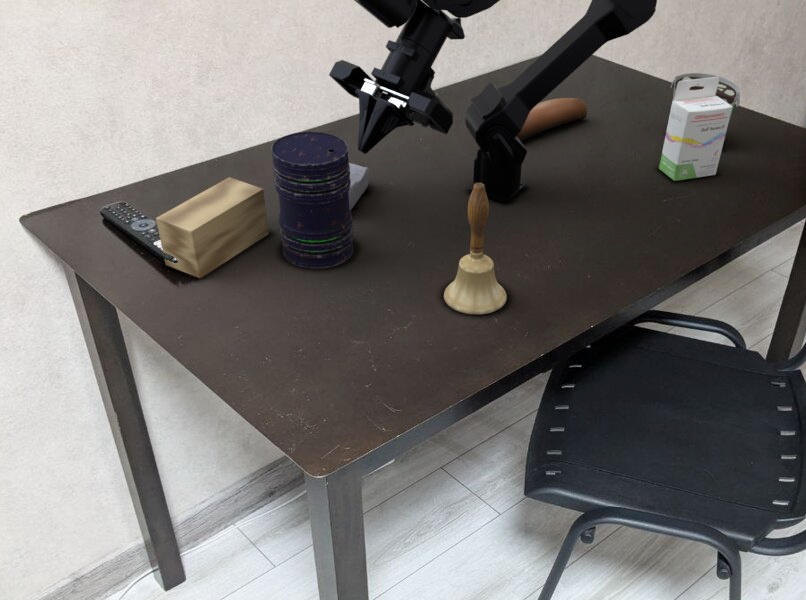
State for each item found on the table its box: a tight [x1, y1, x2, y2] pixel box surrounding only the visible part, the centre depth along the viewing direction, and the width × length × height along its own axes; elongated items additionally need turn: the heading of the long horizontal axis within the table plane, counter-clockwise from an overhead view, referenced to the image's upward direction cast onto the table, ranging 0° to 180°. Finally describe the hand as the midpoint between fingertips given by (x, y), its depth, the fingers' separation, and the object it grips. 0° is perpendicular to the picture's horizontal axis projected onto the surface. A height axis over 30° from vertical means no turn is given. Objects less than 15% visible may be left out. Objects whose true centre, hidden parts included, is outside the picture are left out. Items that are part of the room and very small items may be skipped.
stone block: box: [349, 162, 371, 212], centre depth 137 cm, size 12×5×10 cm
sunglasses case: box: [517, 97, 588, 142], centre depth 160 cm, size 18×7×7 cm
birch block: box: [155, 176, 270, 279], centre depth 123 cm, size 6×14×7 cm, turn 151°
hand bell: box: [443, 183, 508, 316], centre depth 115 cm, size 8×8×16 cm
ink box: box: [658, 77, 732, 182], centre depth 146 cm, size 9×5×15 cm, turn 114°
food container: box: [670, 72, 741, 121], centre depth 159 cm, size 12×6×10 cm, turn 58°
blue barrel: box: [271, 131, 354, 269], centre depth 122 cm, size 10×10×15 cm
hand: (361, 152), depth 124 cm, fingers closed
